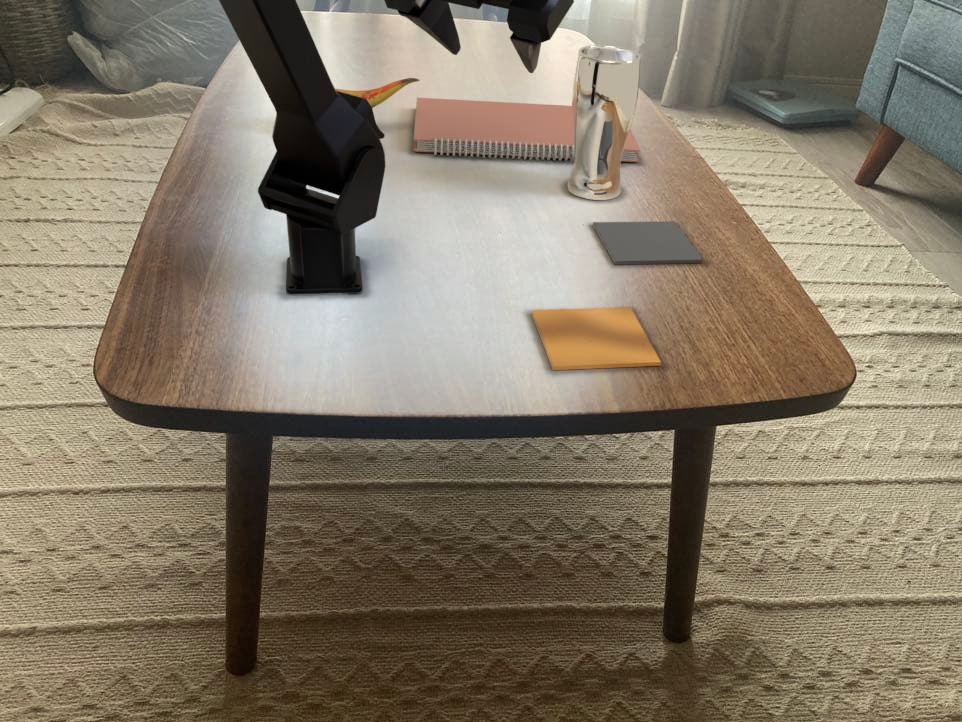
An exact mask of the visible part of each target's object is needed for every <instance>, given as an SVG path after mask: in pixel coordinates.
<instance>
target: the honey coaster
mask: <svg viewBox="0 0 962 722" xmlns="http://www.w3.org/2000/svg"><path fill="white" fill-rule="evenodd" d="M531 316H532V319H533V322H534V324H535V327H536V329H537V332H538V335H539V338H540V340H541V342H542V346H543V348H544V351H545V353H546V357H547V359H548V360H549V364H550V366H551V370H552V371H569V370H592V369H613V368H614V369H615V368H637V367H638V368H639V367H660V366H661V365H662V361H661V359H660V357H659V355H658V353H657V352H656V350H655V348H654V347H653V345H652V343H651V341H650V340H649V339H650V338H648V335H647V334H646V332H645V330H644V329H643V326H642V325H641V323H640V321H639V319H638V318H637V316H636V314H635V312H634V310H633V308H632V307H629V306H628V307H596V308H565V309H564V308H563V309H532V310H531Z"/></svg>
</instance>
